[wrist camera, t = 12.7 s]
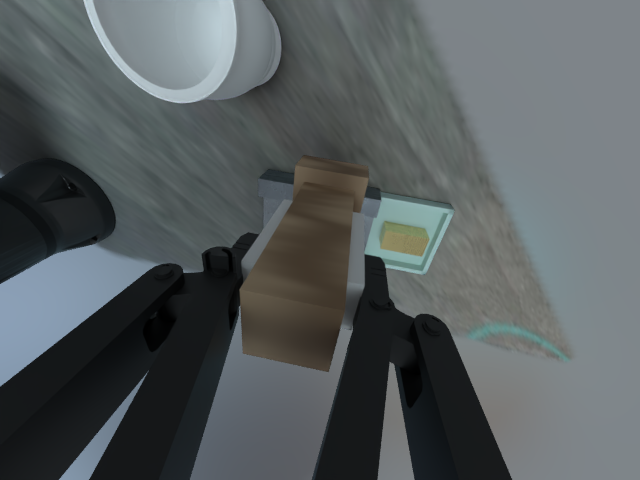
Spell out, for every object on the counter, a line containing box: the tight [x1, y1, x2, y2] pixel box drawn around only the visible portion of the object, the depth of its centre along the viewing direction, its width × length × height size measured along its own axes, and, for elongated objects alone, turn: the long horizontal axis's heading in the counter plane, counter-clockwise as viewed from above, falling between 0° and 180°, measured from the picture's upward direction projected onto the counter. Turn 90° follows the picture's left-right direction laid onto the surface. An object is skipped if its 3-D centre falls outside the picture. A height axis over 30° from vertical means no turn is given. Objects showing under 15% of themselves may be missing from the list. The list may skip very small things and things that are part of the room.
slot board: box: [258, 169, 381, 254], centre depth 37 cm, size 16×12×4 cm
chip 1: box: [379, 221, 408, 253], centre depth 37 cm, size 3×3×3 cm
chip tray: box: [365, 192, 455, 275], centre depth 38 cm, size 10×11×2 cm
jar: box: [84, 0, 281, 103], centre depth 23 cm, size 11×10×15 cm
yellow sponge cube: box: [401, 225, 430, 257], centre depth 37 cm, size 3×3×3 cm
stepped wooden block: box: [240, 155, 369, 372], centre depth 15 cm, size 5×6×14 cm
